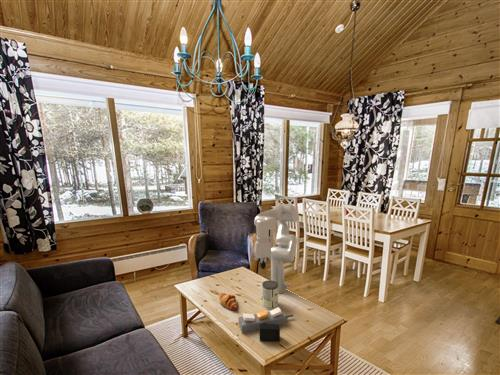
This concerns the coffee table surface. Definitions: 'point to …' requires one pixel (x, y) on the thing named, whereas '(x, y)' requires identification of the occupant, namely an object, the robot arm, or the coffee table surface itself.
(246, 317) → the block
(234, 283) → the coffee table surface
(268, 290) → the coffee can
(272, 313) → the white rocker
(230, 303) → the croissant
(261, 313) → the amber rocker
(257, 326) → the power strip
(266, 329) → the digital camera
